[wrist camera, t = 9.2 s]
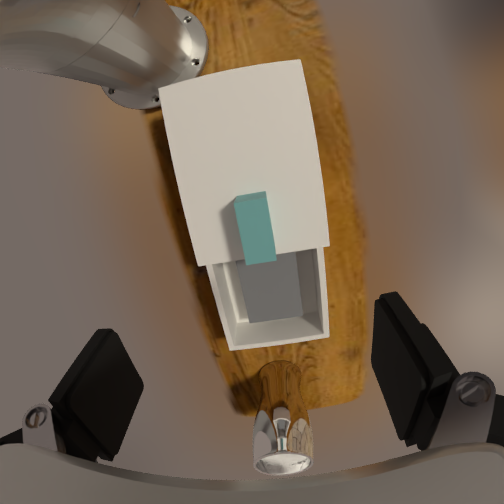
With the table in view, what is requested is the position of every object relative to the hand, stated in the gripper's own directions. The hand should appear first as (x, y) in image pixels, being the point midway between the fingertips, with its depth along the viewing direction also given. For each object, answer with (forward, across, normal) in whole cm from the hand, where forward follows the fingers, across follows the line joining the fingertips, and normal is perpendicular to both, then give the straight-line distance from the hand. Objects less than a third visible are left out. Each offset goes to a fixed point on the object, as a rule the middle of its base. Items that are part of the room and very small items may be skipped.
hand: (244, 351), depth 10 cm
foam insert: (+22, 0, +8) cm, 24 cm away
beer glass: (+22, +1, +24) cm, 33 cm away
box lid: (+17, 0, -5) cm, 18 cm away
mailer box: (+22, 0, +6) cm, 23 cm away
